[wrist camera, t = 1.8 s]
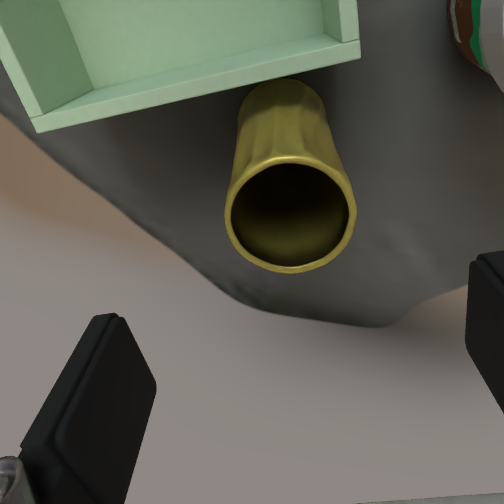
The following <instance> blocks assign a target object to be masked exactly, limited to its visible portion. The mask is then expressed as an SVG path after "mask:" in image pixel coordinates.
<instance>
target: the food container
mask: <svg viewBox="0 0 504 504" xmlns="http://www.w3.org/2000/svg"><path fill="white" fill-rule="evenodd" d="M447 13H448V19H449V24H450V30H451V36H452V38H453V39H454V41H455V43H456V45H457V46H458V48H459V50H460V51H461V53H462V55H463V56H464V57H465V58H466V59H468V60H469V61H470V62H472V63H473V64H474V65H476V66H477V67H478V68H480V69H481V70H483V71H485V72H487V73H488V74H490V75H492V76H493V78H494V80H495V81H496V83H497V85H498V86H499V88H500V89H501V91H502V92H503V93H504V0H448V2H447Z"/></svg>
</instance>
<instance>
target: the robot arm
mask: <svg viewBox="0 0 504 504" xmlns="http://www.w3.org/2000/svg"><path fill="white" fill-rule="evenodd" d="M465 344H466V348H467V351H468V353H469V355H470V357H471V358H472V360H473V362H474V363H475V365H476V367H477V369H478V370H479V372H480V374H481V375H482V377H483V379H484V381H485V382H486V384H487V386H488V387H489V389H490V391H491V393H492V394H493V396H494V398H495V399H496V401H497V403H498V404H499V406H500V408H501V410H502V411H503V413H504V251H503V250H502V251H496V252H490V253H483V254H479V255H478V256H477V258H476V261H472V262H471V263H470V266H469V282H468V299H467V314H466V330H465ZM155 395H156V381H155V379H154V377H153V375H152V373H151V371H150V369H149V367H148V365H147V363H146V361H145V359H144V357H143V355H142V353H141V351H140V349H139V347H138V345H137V343H136V341H135V339H134V337H133V334H132V332H131V331H130V328H129V326H128V325H127V322H126V320H125V319H124V318H123V317H119V316H118V315H117V314H116V313H109V314H103V315H96V316H94V317H93V318H92V319H91V321H90V323H89V325H88V327H87V328H86V330H85V332H84V334H83V335H82V337H81V339H80V341H79V342H78V344H77V346H76V348H75V349H74V351H73V353H72V355H71V357H70V358H69V360H68V362H67V363H66V365H65V367H64V369H63V371H62V372H61V374H60V376H59V378H58V379H57V381H56V383H55V385H54V386H53V388H52V390H51V392H50V394H49V395H48V397H47V399H46V401H45V402H44V404H43V406H42V408H41V409H40V411H39V413H38V415H37V416H36V418H35V420H34V422H33V424H32V425H31V427H30V429H29V430H28V432H27V434H26V436H25V438H24V440H23V441H22V443H21V445H20V447H21V448H22V451H21V452H20V454H19V456H18V458H17V457H14V456H5V457H2V458H0V504H124V502H125V499H126V495H127V492H128V488H129V485H130V481H131V478H132V474H133V471H134V467H135V464H136V460H137V457H138V454H139V450H140V447H141V443H142V440H143V437H144V433H145V430H146V426H147V423H148V419H149V416H150V412H151V409H152V406H153V402H154V399H155ZM358 504H504V493H494V494H479V495H464V496H451V497H438V498H424V499H411V500H398V501H385V502H371V503H358Z"/></svg>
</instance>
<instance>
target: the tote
mask: <svg viewBox="0 0 504 504" xmlns="http://www.w3.org/2000/svg"><path fill="white" fill-rule="evenodd" d="M360 58H361V50H360V40H359V23H358V10H357V0H0V59H1V61H2V63H3V65H4V67H5V69H6V71H7V73H8V75H9V77H10V79H11V81H12V83H13V85H14V87H15V89H16V91H17V93H18V95H19V97H20V99H21V101H22V103H23V105H24V107H25V109H26V111H27V113H28V115H29V117H30V118H31V121H32V123H33V126H34V128H35V130H36V132H37V133H43V132H47V131H51V130H56V129H60V128H64V127H68V126H73V125H77V124H81V123H86V122H90V121H94V120H98V119H103V118H107V117H111V116H116V115H120V114H124V113H129V112H133V111H137V110H141V109H146V108H150V107H154V106H159V105H163V104H167V103H172V102H176V101H180V100H184V99H189V98H193V97H197V96H202V95H206V94H210V93H215V92H219V91H223V90H227V89H232V88H236V87H240V86H245V85H249V84H253V83H258V82H262V81H266V80H270V79H275V78H279V77H283V76H288V75H292V74H296V73H301V72H305V71H309V70H313V69H318V68H322V67H326V66H331V65H335V64H339V63H343V62H348V61H352V60H356V59H360Z"/></svg>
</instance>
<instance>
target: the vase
mask: <svg viewBox="0 0 504 504" xmlns="http://www.w3.org/2000/svg"><path fill="white" fill-rule="evenodd" d="M237 126H238V132H237V142H236V152H235V157H234V163H233V170H232V177H231V182H230V186H229V188H228V192H227V197H226V203H225V210H224V221H225V226H226V229H227V232H228V235H229V238H230V240H231V242H232V244H233V246H234V247H235V249H236V250H237V251H238V252H239V253H240V254H241V255H242V256H243V257H244V258H246V259H247V260H249V261H250V262H252V263H254V264H256V265H258V266H260V267H262V268H265V269H267V270H270V271H274V272H280V273H293V274H294V273H301V272H305V271H309V270H312V269H315V268H318V267H321V266H323V265H325V264H327V263H329V262H330V261H331V260H333V259H334V258H335V257H336V256H338V255H339V253H340V252H341V251H342V250H343V249H344V248H345V246H346V245H347V244H348V242H349V240H350V238H351V236H352V233H353V230H354V226H355V222H356V217H357V207H356V203H355V199H354V195H353V191H352V187H351V184H350V181H349V179H348V177H347V175H346V173H345V171H344V168H343V166H342V163H341V160H340V158H339V156H338V154H337V152H336V149H335V147H334V143H333V138H332V134H331V131H330V128H329V125H328V123H327V116H326V111H325V107H324V105H323V102H322V100H321V98H320V97H319V96H318V95H317V93H316V92H315V91H314V90H313V89H311V88H310V87H309V86H307V85H306V84H304V83H302V82H301V81H298V80H294V79H289V78H275V79H271V80H269V81H266V82H264V83H262V84H260V85H259V86H257V87H256V88H254V89H253V90H252V91H251V92H250V93H249V94H248V96H247V97H246V98H245V100H244V102H243V103H242V105H241V108H240V111H239V114H238V120H237Z"/></svg>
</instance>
